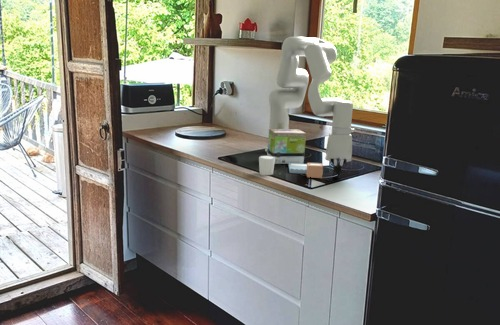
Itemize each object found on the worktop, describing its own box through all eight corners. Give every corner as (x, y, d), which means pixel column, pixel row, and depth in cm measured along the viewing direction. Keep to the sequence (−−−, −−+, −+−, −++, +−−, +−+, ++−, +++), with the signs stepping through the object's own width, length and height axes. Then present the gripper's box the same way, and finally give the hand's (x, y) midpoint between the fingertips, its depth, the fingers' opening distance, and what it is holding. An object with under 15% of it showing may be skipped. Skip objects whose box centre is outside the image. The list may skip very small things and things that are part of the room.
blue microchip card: (288, 166, 206) (288, 162, 205) (319, 167, 206) (319, 164, 205) (289, 172, 195) (289, 169, 195) (322, 174, 195) (323, 170, 195)
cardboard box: (306, 174, 195) (307, 162, 193) (320, 174, 194) (321, 163, 193) (307, 177, 190) (308, 165, 188) (321, 178, 190) (322, 166, 188)
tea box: (273, 164, 207) (275, 132, 204) (266, 159, 217) (268, 128, 213) (304, 164, 211) (306, 132, 208) (296, 158, 221) (298, 128, 217)
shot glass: (264, 176, 188) (265, 159, 186) (254, 172, 194) (255, 156, 192) (277, 174, 192) (278, 158, 190) (267, 170, 198) (268, 154, 196)
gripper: (357, 130, 191) (353, 172, 195) (321, 128, 191) (317, 171, 195) (361, 133, 183) (356, 177, 188) (323, 131, 184) (320, 175, 188)
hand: (336, 174), depth 192 cm, fingers closed
